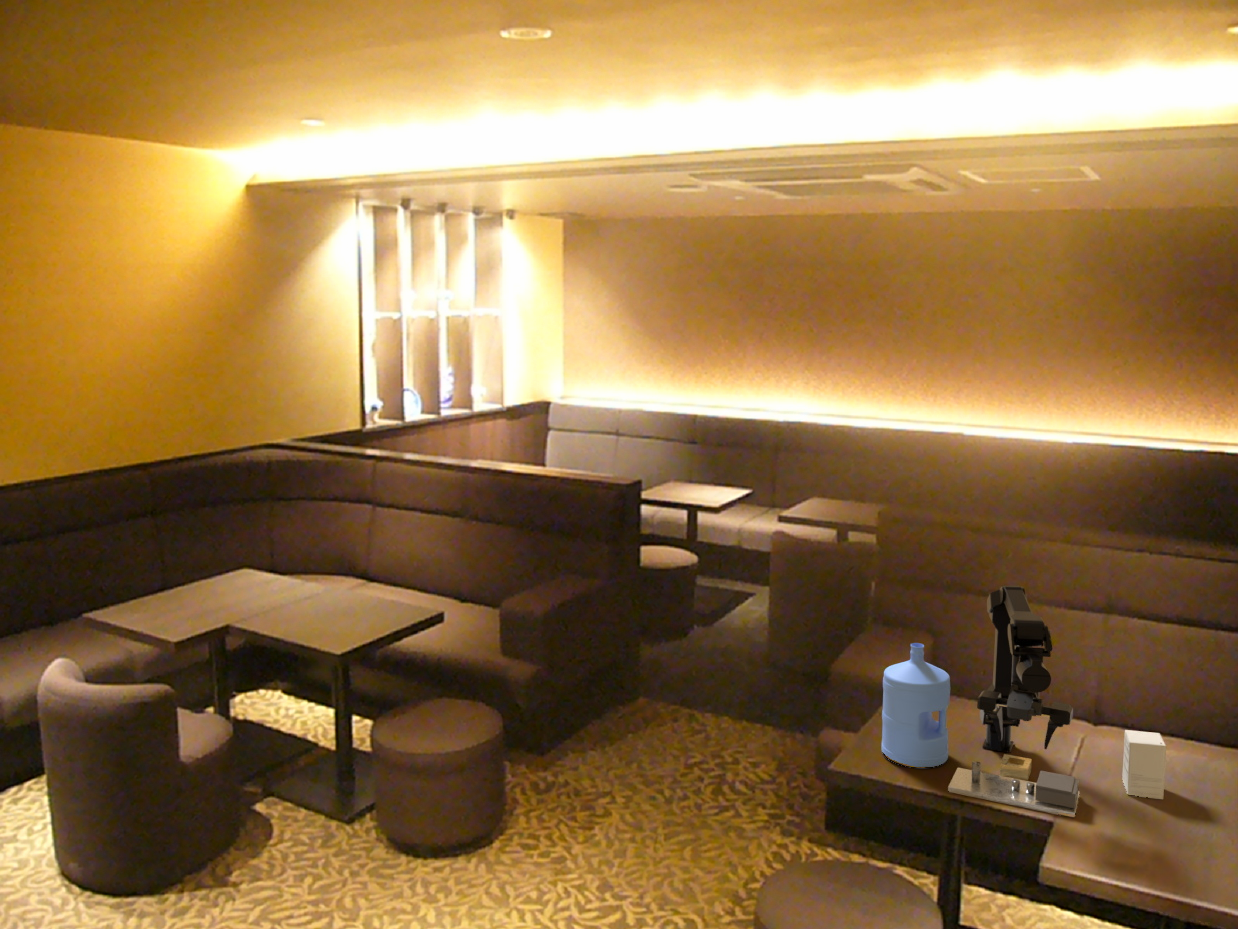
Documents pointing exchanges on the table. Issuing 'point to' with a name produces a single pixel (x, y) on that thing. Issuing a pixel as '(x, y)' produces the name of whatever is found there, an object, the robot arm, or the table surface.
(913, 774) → the table surface
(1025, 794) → the pin plate
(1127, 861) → the table surface
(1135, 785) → the supplement box
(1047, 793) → the box
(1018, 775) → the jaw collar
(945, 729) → the water jug
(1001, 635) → the robot arm
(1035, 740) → the table surface
